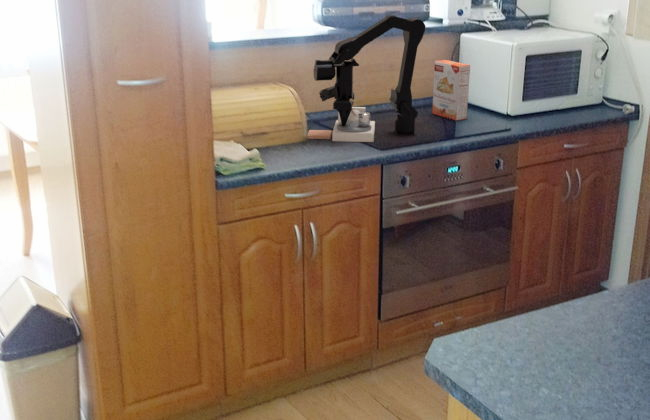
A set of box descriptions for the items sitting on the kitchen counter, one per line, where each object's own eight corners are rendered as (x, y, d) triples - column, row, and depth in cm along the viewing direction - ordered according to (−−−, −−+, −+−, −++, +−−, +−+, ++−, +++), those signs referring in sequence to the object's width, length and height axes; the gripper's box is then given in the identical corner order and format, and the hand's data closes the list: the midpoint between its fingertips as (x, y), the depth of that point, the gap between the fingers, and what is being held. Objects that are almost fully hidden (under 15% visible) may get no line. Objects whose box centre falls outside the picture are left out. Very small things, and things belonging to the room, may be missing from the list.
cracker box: (431, 114, 290) (433, 60, 283) (442, 112, 293) (446, 59, 286) (455, 121, 279) (458, 65, 272) (467, 119, 282) (471, 64, 275)
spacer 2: (370, 124, 258) (370, 112, 257) (369, 127, 255) (369, 114, 253) (358, 124, 259) (358, 112, 257) (358, 127, 255) (358, 114, 253)
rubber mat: (331, 133, 263) (331, 130, 262) (330, 139, 255) (330, 136, 255) (309, 132, 263) (309, 129, 263) (306, 138, 256) (306, 135, 256)
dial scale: (374, 129, 268) (375, 106, 265) (373, 142, 252) (373, 118, 249) (336, 128, 269) (336, 105, 266) (332, 141, 253) (332, 117, 250)
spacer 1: (350, 124, 259) (350, 111, 257) (349, 127, 255) (349, 114, 254) (338, 124, 259) (338, 111, 258) (337, 127, 256) (337, 114, 254)
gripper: (323, 74, 261) (323, 117, 266) (318, 84, 244) (318, 130, 249) (354, 74, 260) (354, 118, 266) (351, 84, 243) (351, 131, 248)
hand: (344, 124), depth 257 cm, fingers closed on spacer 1, 4 cm apart
